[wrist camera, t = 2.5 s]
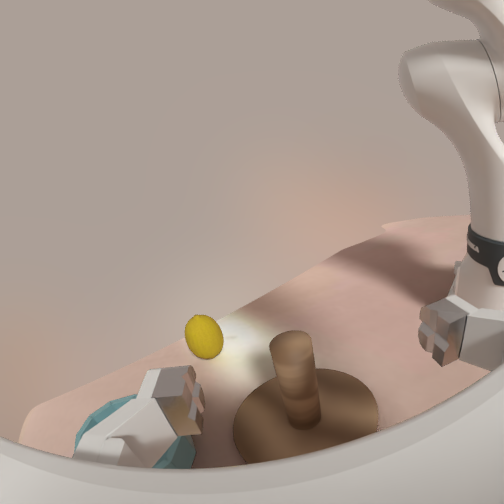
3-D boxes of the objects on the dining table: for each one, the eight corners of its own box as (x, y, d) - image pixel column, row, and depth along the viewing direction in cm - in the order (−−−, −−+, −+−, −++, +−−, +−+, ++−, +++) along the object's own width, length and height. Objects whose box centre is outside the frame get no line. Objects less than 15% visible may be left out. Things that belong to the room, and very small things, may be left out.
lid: (285, 362, 37) (268, 288, 34) (396, 388, 27) (404, 304, 23) (207, 442, 26) (164, 370, 22) (334, 505, 16) (333, 451, 12)
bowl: (150, 400, 34) (138, 381, 33) (219, 449, 25) (206, 430, 24) (79, 451, 24) (61, 433, 23) (129, 522, 15) (107, 509, 14)
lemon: (191, 355, 43) (174, 314, 41) (222, 342, 45) (208, 301, 42) (200, 374, 38) (181, 331, 36) (234, 359, 40) (219, 316, 38)
